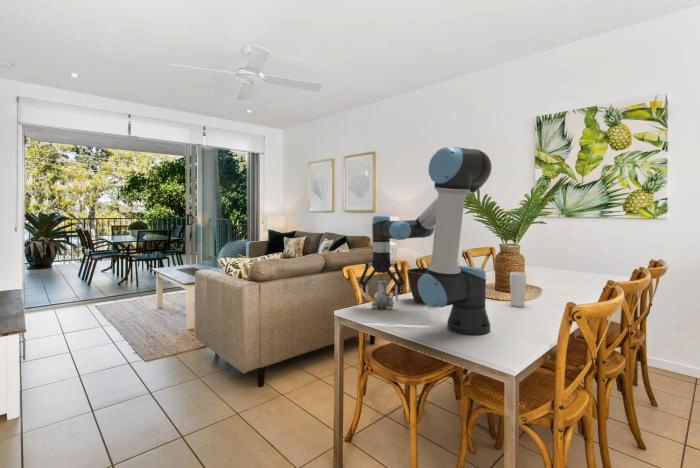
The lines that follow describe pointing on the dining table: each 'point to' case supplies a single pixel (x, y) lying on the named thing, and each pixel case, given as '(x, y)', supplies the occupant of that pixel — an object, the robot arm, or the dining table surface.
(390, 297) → the socket board
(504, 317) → the dining table surface
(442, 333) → the dining table surface
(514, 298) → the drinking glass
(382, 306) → the pin
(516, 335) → the dining table surface
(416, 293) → the plant pot
